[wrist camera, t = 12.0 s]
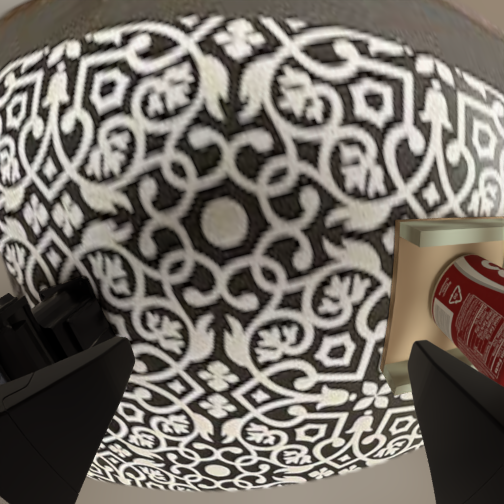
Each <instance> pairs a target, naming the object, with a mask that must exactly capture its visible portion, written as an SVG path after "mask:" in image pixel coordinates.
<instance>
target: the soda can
mask: <svg viewBox="0 0 504 504" xmlns="http://www.w3.org/2000/svg"><path fill="white" fill-rule="evenodd" d="M431 313H432V318H433V320H434V322H435V324H436V325H437V326H438V327H439V328H440V329H441V330H442V332H443V333H444V334H445V335H446V336H447V337H448V338H449V339H450V340H451V341H452V342H453V343H454V344H455V345H456V347H457V348H458V349H459V350H460V351H461V352H462V353H463V354H464V355H465V356H466V358H467V359H468V360H469V361H470V362H471V363H472V364H473V365H474V367H475V368H476V369H477V370H478V371H479V372H481V373H482V374H484V375H485V376H487V377H489V378H490V379H492V380H494V381H495V382H497V383H498V384H500V385H502V386H503V387H504V269H503V268H501V267H500V266H498V265H496V264H494V263H492V262H490V261H488V260H486V259H484V258H482V257H481V256H478V255H475V254H467V255H464V256H461V257H459V258H458V259H456V260H455V261H453V262H452V263H451V264H450V265H449V266H448V267H447V268H446V269H445V271H444V272H443V273H442V275H441V276H440V278H439V280H438V282H437V284H436V286H435V289H434V292H433V296H432V301H431Z"/></svg>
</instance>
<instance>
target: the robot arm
mask: <svg viewBox="0 0 504 504" xmlns="http://www.w3.org/2000/svg"><path fill="white" fill-rule="evenodd" d="M82 281H83V282H84V284H83V283H82ZM43 294H44V295H43ZM39 296H40V299H41V301H42V302H40V303H39V304H38V305H36V306H35V307H34V308H32V309H30V307H29V305H28V301H27V299H26V297H25V296H23V297H21V298H19V299H18V298H17V297H13V296H12V295H11V294H9V293H8V294H6V295H4V296H3V297H1V298H0V504H75V502H76V500H77V497H78V495H79V494H78V493H79V492H80V490H81V487H82V485H83V482H84V480H85V478H86V476H87V473H88V471H89V469H90V466H91V464H92V462H93V460H94V457H95V455H96V453H97V451H98V448H99V446H100V444H101V442H102V440H103V437H104V435H105V433H106V431H107V429H108V427H109V425H110V422H111V420H112V418H113V416H114V414H115V412H116V410H117V408H118V406H119V404H120V401H121V399H122V397H123V394H124V391H125V389H126V386H127V383H128V380H129V378H130V375H131V372H132V370H133V367H134V364H135V357H134V354H133V351H132V348H131V345H130V342H129V340H128V339H127V338H125V337H115V335H114V334H113V332H112V330H111V328H110V326H109V324H108V322H107V320H106V318H105V316H104V314H103V311H102V309H101V307H100V305H99V303H98V301H97V299H96V296H95V294H94V292H93V290H92V287H91V285H90V283H89V280H88V279H87V278H86V277H85V276H81V277H78V278H75V279H72V280H69V281H66V282H63V283H60V284H57V285H55V286H52V287H49V288H46V289H43V290H42V291H40V292H39ZM407 367H408V374H409V379H410V384H411V390H412V395H413V401H414V407H415V411H416V415H417V419H418V423H419V426H420V430H421V434H422V438H423V442H424V446H425V450H426V454H427V458H428V463H429V467H430V472H431V477H432V482H433V487H434V493H435V499H436V504H504V387H503V386H502V385H500V384H498V383H497V382H495V381H494V380H492V379H490V378H489V377H487V376H485V375H484V374H482V373H481V372H479V371H477V370H476V369H474V368H472V367H471V366H469V365H467V364H466V363H464V362H463V361H461V360H459V359H458V358H456V357H454V356H453V355H451V354H449V353H448V352H446V351H444V350H443V349H441V348H439V347H438V346H436V345H434V344H433V343H431V342H429V341H428V340H418V341H415V342H414V343H413V345H412V349H411V352H410V356H409V360H408V366H407Z"/></svg>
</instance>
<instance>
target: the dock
mask: <svg viewBox="0 0 504 504" xmlns="http://www.w3.org/2000/svg"><path fill="white" fill-rule="evenodd" d="M467 254H475V255H478V256H481V257H482V258H484V259H486V260H488V261H490V262H492V263H494V264H496V265H498V266H500V267H501V268H503V269H504V217H464V218H432V219H406V220H395V247H394V264H393V278H392V289H391V299H390V308H389V316H388V323H387V330H386V337H385V343H384V349H383V355H382V361H381V366H380V369H381V371H382V373H383V375H384V377H385V379H386V381H387V383H388V385H389V387H390V388H391V390H392V392H393V394H394V396H395V395H400V394H404V393H408V392H412V390H411V384H410V379H409V374H408V367H407V366H408V360H409V356H410V352H411V349H412V345H413V343H414V342H415V341H418V340H428V341H429V342H431V343H433V344H434V345H436V346H438V347H439V348H441V349H443V350H444V351H446V352H448V353H449V354H451V355H453V356H454V357H456V358H458V359H459V360H461V361H463V362H464V363H466V364H467V365H469V366H471V367H472V368H474V369H476V368H475V367H474V365H473V364H472V363H471V362H470V361H469V360H468V359H467V358H466V356H465V355H464V354H463V353H462V352H461V351H460V350H459V349H458V348H457V347H456V345H455V344H454V343H453V342H452V341H451V340H450V339H449V338H448V337H447V336H446V335H445V334H444V333H443V332H442V330H441V329H440V328H439V327H438V326H437V325H436V324H435V322H434V320H433V318H432V313H431V301H432V296H433V292H434V289H435V286H436V284H437V282H438V280H439V278H440V276H441V275H442V273H443V272H444V271H445V269H446V268H447V267H448V266H449V265H450V264H451V263H452V262H453V261H455V260H456V259H458V258H459V257H461V256H464V255H467ZM476 370H477V369H476ZM477 371H478V370H477Z"/></svg>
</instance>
